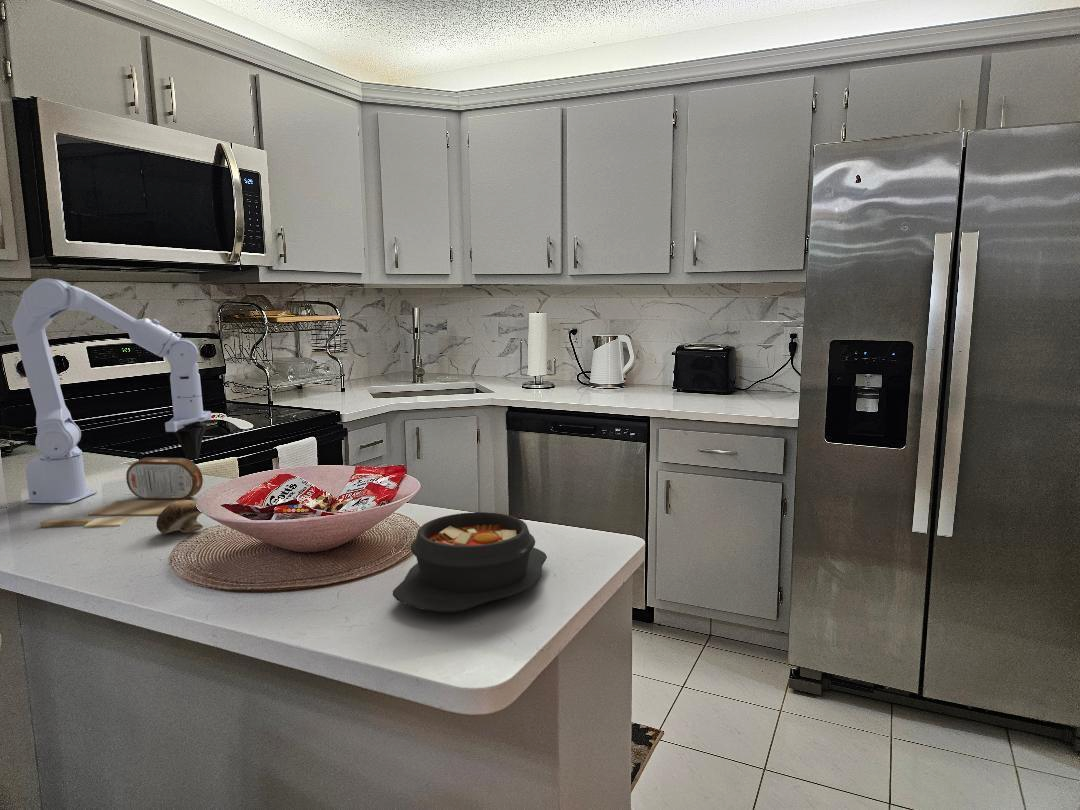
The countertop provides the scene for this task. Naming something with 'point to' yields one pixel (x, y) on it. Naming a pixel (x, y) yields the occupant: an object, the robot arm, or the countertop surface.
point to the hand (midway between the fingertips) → (192, 458)
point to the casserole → (470, 562)
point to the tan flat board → (133, 508)
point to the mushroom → (179, 517)
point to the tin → (164, 478)
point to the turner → (87, 522)
